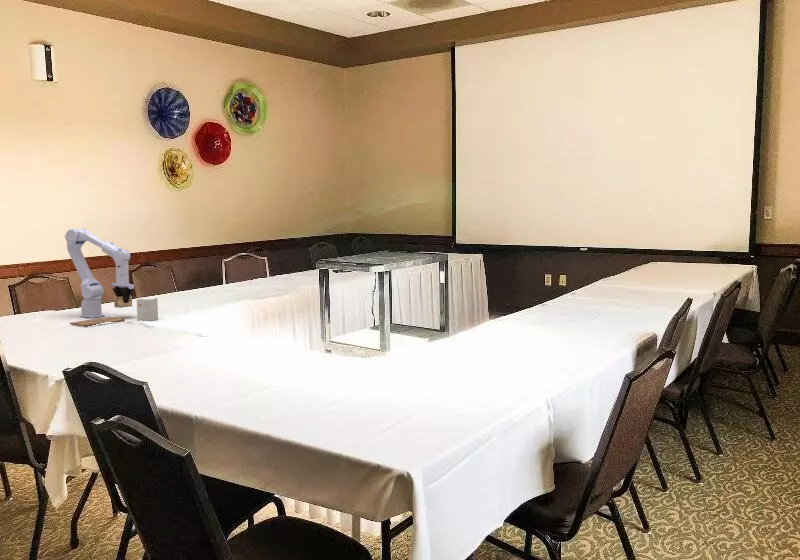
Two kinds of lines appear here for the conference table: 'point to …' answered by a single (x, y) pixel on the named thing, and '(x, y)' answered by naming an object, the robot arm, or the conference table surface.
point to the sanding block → (122, 302)
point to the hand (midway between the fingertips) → (123, 302)
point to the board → (96, 321)
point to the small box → (147, 309)
